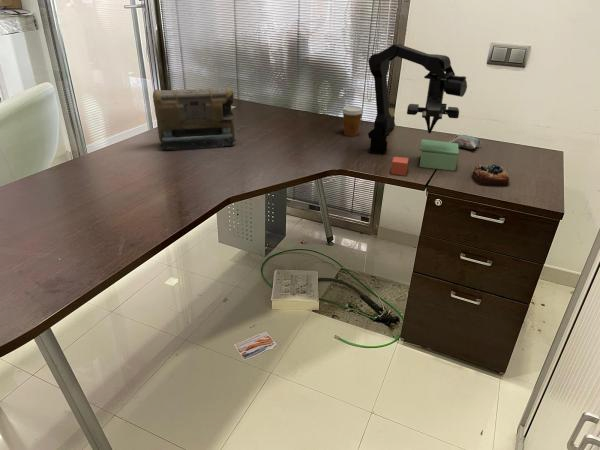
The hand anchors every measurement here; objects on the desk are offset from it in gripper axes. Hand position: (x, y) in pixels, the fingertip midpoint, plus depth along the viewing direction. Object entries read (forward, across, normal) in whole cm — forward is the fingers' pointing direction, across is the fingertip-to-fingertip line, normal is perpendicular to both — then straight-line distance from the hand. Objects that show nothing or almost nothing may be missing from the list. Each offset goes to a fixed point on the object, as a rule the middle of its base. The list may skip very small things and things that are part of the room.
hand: (429, 133), depth 175 cm
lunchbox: (+13, +5, +2) cm, 14 cm away
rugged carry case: (+13, -96, -6) cm, 97 cm away
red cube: (+13, -9, -12) cm, 19 cm away
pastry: (+13, +24, -10) cm, 29 cm away
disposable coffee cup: (+13, -34, +28) cm, 47 cm away
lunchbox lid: (+6, +5, +2) cm, 8 cm away
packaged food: (+13, +16, +25) cm, 32 cm away
